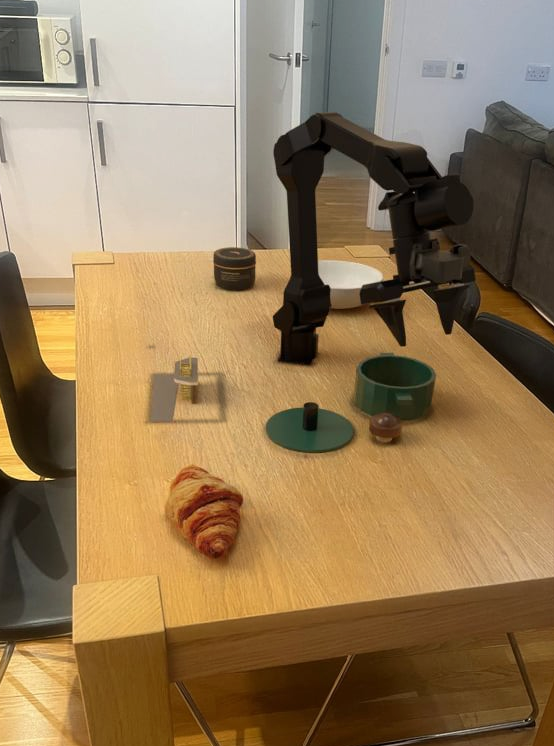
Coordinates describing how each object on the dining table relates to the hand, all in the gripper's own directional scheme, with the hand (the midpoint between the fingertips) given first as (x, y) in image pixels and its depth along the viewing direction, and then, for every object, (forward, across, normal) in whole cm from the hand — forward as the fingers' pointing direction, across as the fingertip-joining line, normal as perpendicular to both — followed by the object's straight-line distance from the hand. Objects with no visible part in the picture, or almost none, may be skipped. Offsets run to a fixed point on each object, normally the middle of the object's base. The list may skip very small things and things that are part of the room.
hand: (426, 340), depth 118 cm
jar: (-14, +7, +75) cm, 77 cm away
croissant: (+16, -43, -1) cm, 46 cm away
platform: (+3, -29, +31) cm, 42 cm away
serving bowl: (-6, +22, +57) cm, 61 cm away
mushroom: (+14, -8, +4) cm, 17 cm away
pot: (+11, +1, +13) cm, 17 cm away
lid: (+11, -17, +11) cm, 23 cm away
